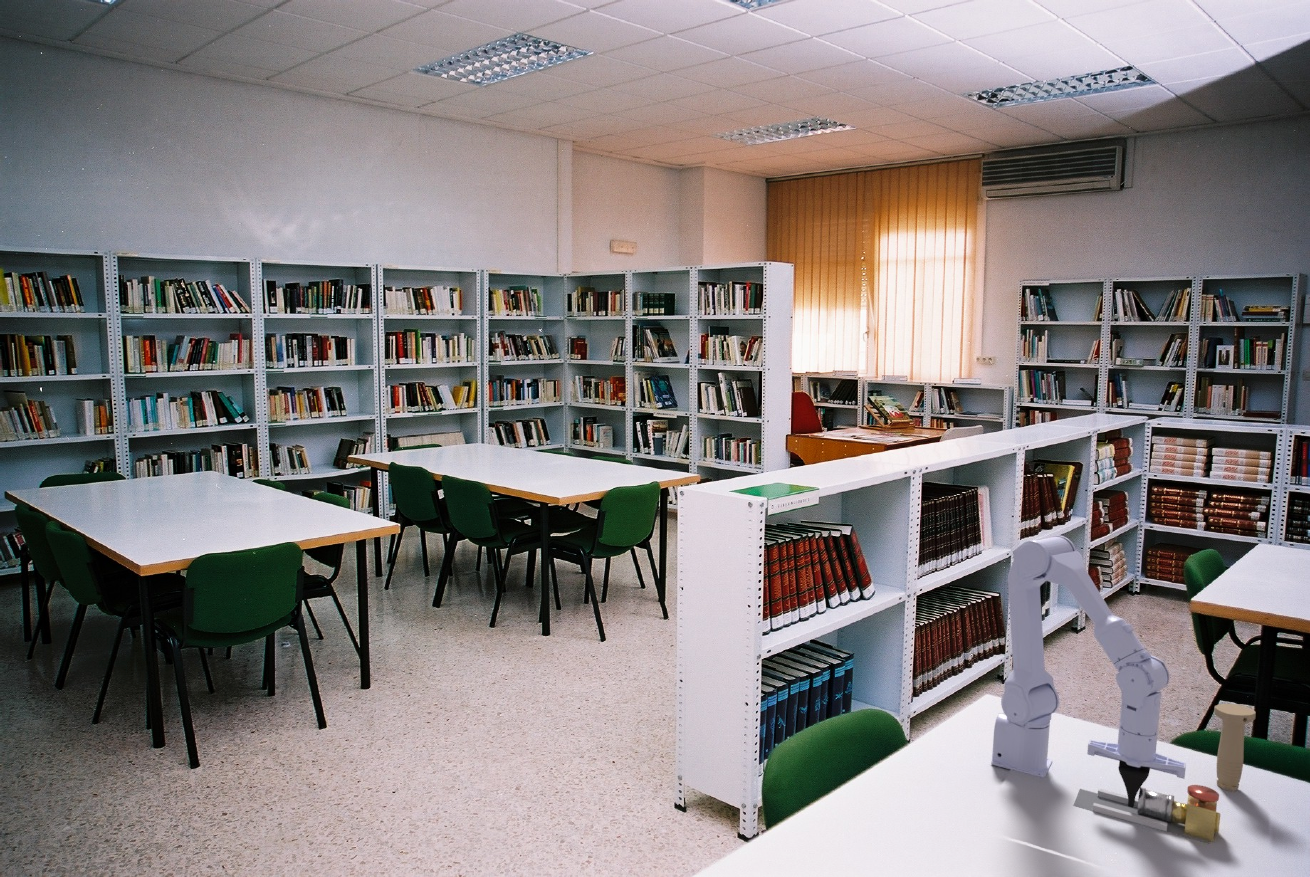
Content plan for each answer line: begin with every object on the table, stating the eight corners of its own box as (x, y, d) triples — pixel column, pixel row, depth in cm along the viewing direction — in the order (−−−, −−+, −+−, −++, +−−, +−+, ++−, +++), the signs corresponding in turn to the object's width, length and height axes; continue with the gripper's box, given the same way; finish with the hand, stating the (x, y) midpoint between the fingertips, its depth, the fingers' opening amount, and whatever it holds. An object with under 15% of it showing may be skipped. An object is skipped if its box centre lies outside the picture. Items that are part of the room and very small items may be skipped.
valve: (1170, 829, 146) (1173, 790, 146) (1172, 816, 151) (1176, 778, 150) (1217, 843, 143) (1221, 803, 142) (1218, 828, 147) (1222, 789, 146)
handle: (1253, 794, 159) (1262, 714, 157) (1221, 796, 158) (1228, 715, 157) (1233, 781, 164) (1240, 703, 162) (1201, 782, 163) (1208, 704, 161)
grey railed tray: (1073, 807, 154) (1073, 799, 154) (1079, 790, 160) (1080, 783, 159) (1209, 845, 143) (1209, 837, 143) (1210, 826, 149) (1211, 818, 148)
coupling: (1136, 814, 150) (1139, 788, 150) (1138, 811, 153) (1141, 785, 154) (1170, 824, 147) (1173, 797, 147) (1172, 820, 150) (1174, 794, 151)
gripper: (1087, 725, 151) (1081, 801, 152) (1186, 749, 143) (1179, 828, 145) (1093, 711, 157) (1087, 784, 158) (1189, 733, 149) (1181, 809, 150)
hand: (1131, 804), depth 152 cm, fingers closed
